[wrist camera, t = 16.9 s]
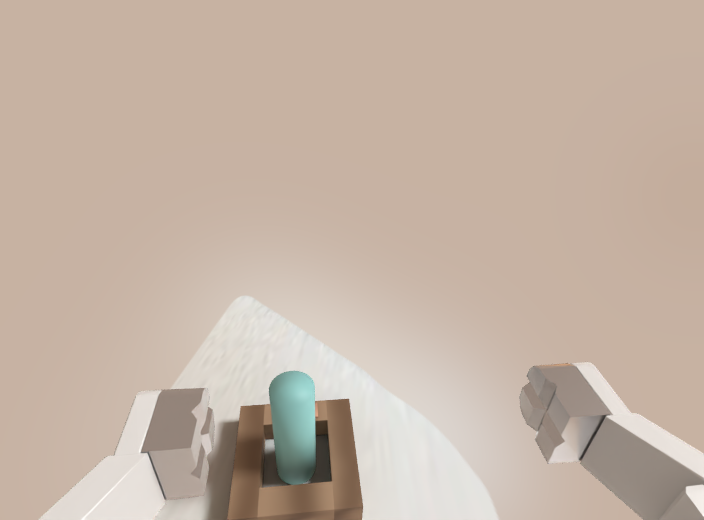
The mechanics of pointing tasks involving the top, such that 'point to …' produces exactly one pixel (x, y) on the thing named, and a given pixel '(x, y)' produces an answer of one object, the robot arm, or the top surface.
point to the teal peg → (294, 426)
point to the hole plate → (303, 499)
